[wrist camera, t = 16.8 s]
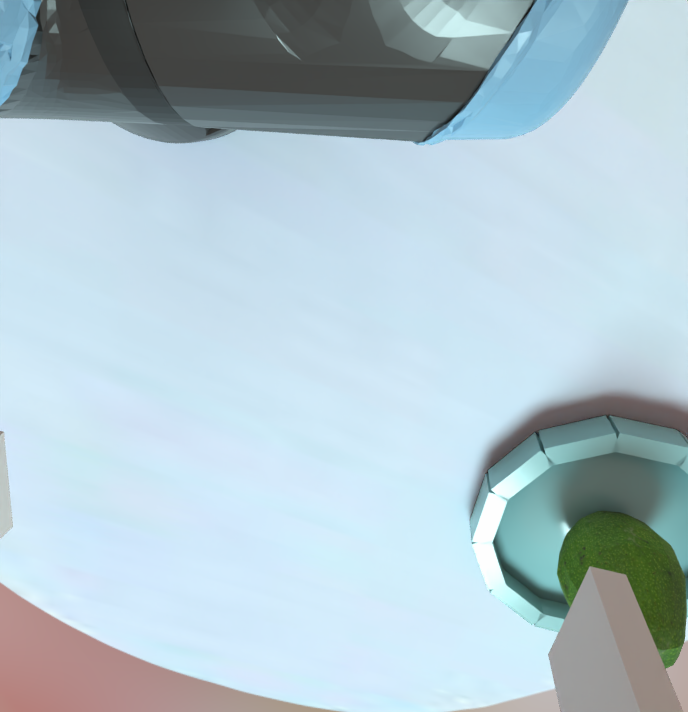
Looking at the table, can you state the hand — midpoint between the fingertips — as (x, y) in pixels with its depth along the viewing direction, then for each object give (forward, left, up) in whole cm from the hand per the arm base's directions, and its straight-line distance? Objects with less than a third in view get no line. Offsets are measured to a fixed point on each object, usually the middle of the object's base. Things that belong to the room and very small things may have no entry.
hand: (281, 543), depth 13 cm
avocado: (+18, +21, -28) cm, 39 cm away
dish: (+18, +21, -29) cm, 40 cm away
